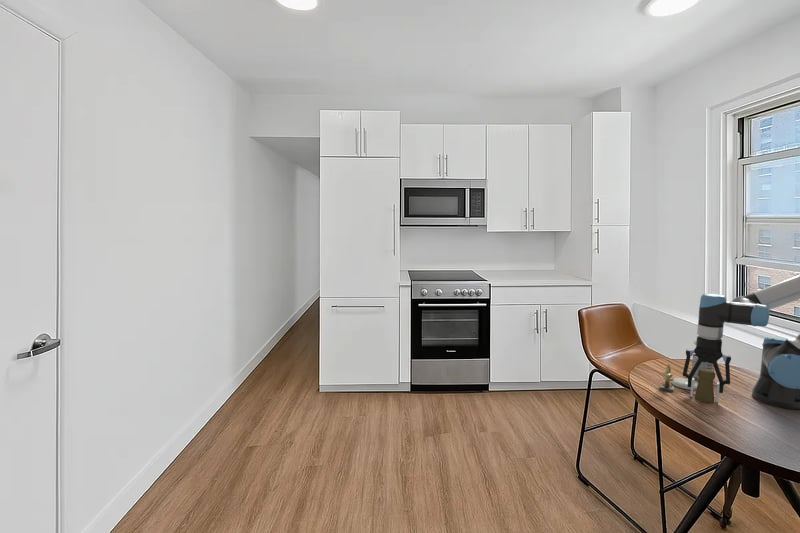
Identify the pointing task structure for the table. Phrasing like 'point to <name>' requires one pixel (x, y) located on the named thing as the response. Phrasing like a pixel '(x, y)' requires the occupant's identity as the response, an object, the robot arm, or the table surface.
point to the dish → (683, 383)
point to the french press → (701, 365)
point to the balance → (667, 379)
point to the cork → (705, 386)
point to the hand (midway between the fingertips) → (704, 398)
